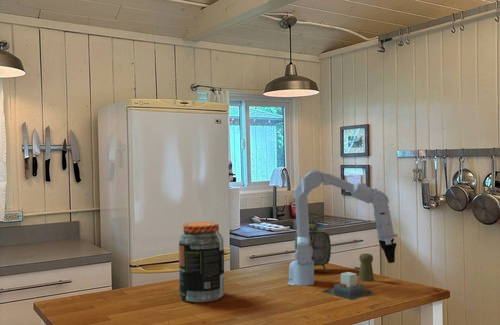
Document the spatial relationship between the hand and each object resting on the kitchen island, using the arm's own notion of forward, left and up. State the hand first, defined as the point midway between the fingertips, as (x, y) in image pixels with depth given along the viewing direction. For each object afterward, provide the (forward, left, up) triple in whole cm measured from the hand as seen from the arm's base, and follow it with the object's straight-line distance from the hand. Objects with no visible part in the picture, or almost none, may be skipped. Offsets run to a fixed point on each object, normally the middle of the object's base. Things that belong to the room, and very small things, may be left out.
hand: (390, 260), depth 183 cm
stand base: (-5, -17, -11) cm, 21 cm away
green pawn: (-12, +2, -11) cm, 16 cm away
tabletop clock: (-38, -1, -11) cm, 40 cm away
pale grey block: (-5, -17, -10) cm, 21 cm away
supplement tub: (-37, -58, -11) cm, 70 cm away
